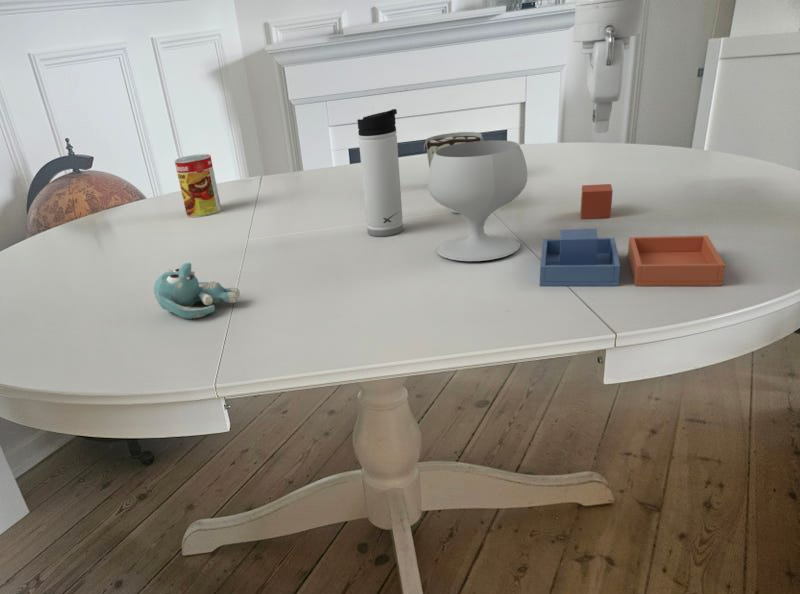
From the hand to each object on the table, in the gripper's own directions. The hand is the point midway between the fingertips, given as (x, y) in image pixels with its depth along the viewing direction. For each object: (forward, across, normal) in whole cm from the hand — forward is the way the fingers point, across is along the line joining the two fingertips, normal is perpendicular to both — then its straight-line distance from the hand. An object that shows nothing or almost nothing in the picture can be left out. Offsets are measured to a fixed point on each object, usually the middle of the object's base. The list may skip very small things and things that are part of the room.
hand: (599, 126), depth 96 cm
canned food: (+15, +16, +80) cm, 83 cm away
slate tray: (+14, -24, +3) cm, 28 cm away
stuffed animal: (+15, -38, +53) cm, 67 cm away
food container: (+15, +30, +26) cm, 43 cm away
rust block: (+14, +2, 0) cm, 14 cm away
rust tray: (+14, -24, -8) cm, 29 cm away
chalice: (+14, -15, +17) cm, 27 cm away
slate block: (+14, -24, +3) cm, 28 cm away
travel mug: (+15, -4, +34) cm, 37 cm away
